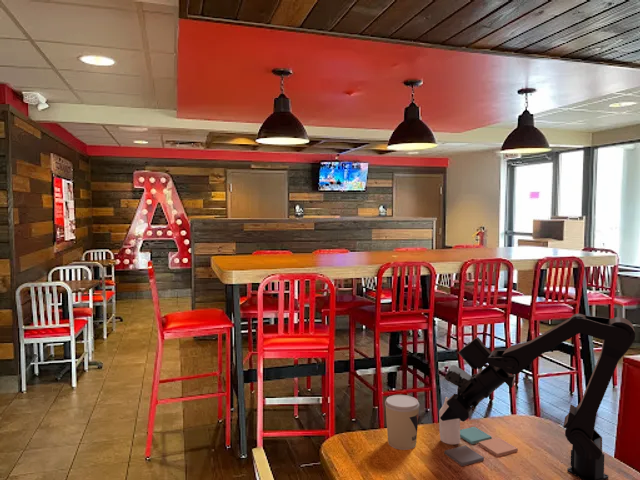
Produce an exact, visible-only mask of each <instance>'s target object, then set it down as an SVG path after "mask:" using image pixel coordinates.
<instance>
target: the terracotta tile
mask: <svg viewBox="0 0 640 480" xmlns="http://www.w3.org/2000/svg"><path fill="white" fill-rule="evenodd" d="M478 446H480V447H481V448H483V449H484V450H486V451H487V452H490V453H491V454H492V455H494V456H496V457H497V458H499V457H502V456H505V455H511V454H513V453H517V452H518V451H519V449H518V447H517V446H514V445H513V444H511V443H509V442H507V441H506V440H504V439H502V438H500V437H499V436H498V437H494V438H493V437H492V439H489V440H485V441H481V442H479V443H478Z"/></svg>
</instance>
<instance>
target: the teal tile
mask: <svg viewBox="0 0 640 480" xmlns="http://www.w3.org/2000/svg"><path fill="white" fill-rule="evenodd" d="M460 439H463V440H464V441H466V442H467V443H469V444H471V445H475V444H479V442H481V441H485V440H489V439H493V437H492V435H489V434H488V433H486V432H484V431H482V430H481V429H480V428H477V427H476V426H471V427H466V428H462V429H460Z"/></svg>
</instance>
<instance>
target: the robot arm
mask: <svg viewBox="0 0 640 480" xmlns="http://www.w3.org/2000/svg"><path fill="white" fill-rule="evenodd" d="M579 334H583V335H586V336H589V337H592V338H595V339H599V340H602V343H601V344H602V346H601V351H600V354H599V356H598V359H597V361H596V364H595V366H594V369H593V370H592V373H591V375H590V378H589V380H588V384H587V386H586V388H585V390H584V393H583V396H582V398H581V400H580V402H579V403H578V404H577V406H575V405H573V404H570V406H569V411H568V413H567V414H566V416H564V420H563V421H564V422H563V426H562V427H563V429H565V433H564V435H565V438H566V439H567V442H569V443H570V444H571V446H572V447H571V450H570V467H568V468H567V469H566V471H567V472H568V473H570V474H571V475H574V476H575V477H577V478H579V479H581V480H607V479H609V475H608V474H606V473H605V453H603V437H602V436H601V435H600V434H599V433H598V432H597V430H596V429H595V427H596V418H597V414H598V411H599V408H600V406H601V404H602V401H603V400H604V397H605V394H606V391H607V389H608V387H609V384H610V382H611V380H612V377H613V375H614V373H615V371H616V368H617V366H618V363H619V361H621V359H622V358H624V356H625V354H626V353H628V351H629V349H630V348H631V346H633V343H635V340H636V332H635V328H634V325H633V324H632V322H631V321H630V320H628V319H626V318H624V317H621V316H618V317H617V316H616V317H612V318H608V317H601V316H594V315H586V314H582V313H574V314H572V315H571V316H570V317H569V318H568V319H566V320H564V321H562V322H560V323H559V324H557V325H556V326H554V327H552V328H550V329H548V330H546V331H545V332H544V333H542V334H540V335H538V336H537V337H535V338H532V340H529V341H525V342H521V343H518V344H515V345H512V346H509V347H508V348H506V349H499V350H498V349H497V350H496V349H495V350H494V349H493V350H492V351H491V350H490V349H489V348H488V347H487V345H485V344H484V343H483V342H482V340H481V339H480V337H479V336H477V337H475V338H474V339H473V340H471V341H469V342H468V343H466V345H465V346H463V347H462V348H461V349H460V350H459V351H457V354H458V355H459V356H460V357H461V358H462V359H463V361H465V363H466V364H467V365H468V366H469V367H470V368H471V369H472V370H473V369H474V370H481V369H482V368H483V367H484V366H485V365H487V366H485V367H484V368H483V369H482V370H481V371H479V372H478V373H473V375H471V374H469V373H468V372H466V371H465V370H463V368H460V367H458V366H456V365H455V364H452V365H451V366H450V367H449V369H448V371H447V373H446V374H445V377H444V380H446V381H447V382H450V383H451V384H453V385H455V386H457V392H456V393H453V395H451V396H450V397H448V398H449V399H448V401H447V405H448V406H449V407H448V408H447V410H446V411H445V412H444V413H443V415H442V416H441V417H440V418H441V420H442V421H446V420H452V419H460V422H465V421H467V420H468V419H469V418H470V417H471V415H472V414H473V410H472V409H473V408H472V407H474V408H476V407H478V405H479V403H480V402H481V401H483V400H484V399H487V398H488V397H490V395H491V394H492V393H494V391H496V390H497V389H498V388H500V387H501V386H502V385H503V384H505V383H506V385H507V386H508V387H509V388H510V389H512V388H513V387H514V385H515V377H516V376H515V375H519V374H520V373H521V372H522V371H524V370H525V369H526V368H527V367H528V366H529V365H531V364H532V363H533V362H534V361H535V360H536V359H537V358H538V357H540V356H541V355H543V354H545V353H546V352H548V351H550V350H552V349H554V348H555V347H558V346H559V345H561V344H562V343H564V342H567V341H568V340H570V339H572V338H574V337H576V336H577V335H579Z"/></svg>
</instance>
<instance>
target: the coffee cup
mask: <svg viewBox="0 0 640 480" xmlns="http://www.w3.org/2000/svg"><path fill="white" fill-rule="evenodd" d="M384 406H385V416H386V418H385V419H386V433H387V443H388V446H390V447H392V448H394V449H396V450H401V451H405V450H407V451H408V450H412V449H414V448H415V447H416V445H417V438H418V437H417V436H418V426H419V423H418V422H419V410H420V409H419V408H420V402H419V400H418V399H417V398H416V397H414V396H411V395H406V394H394V395H390V396H388V397H386V399H385V401H384Z"/></svg>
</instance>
